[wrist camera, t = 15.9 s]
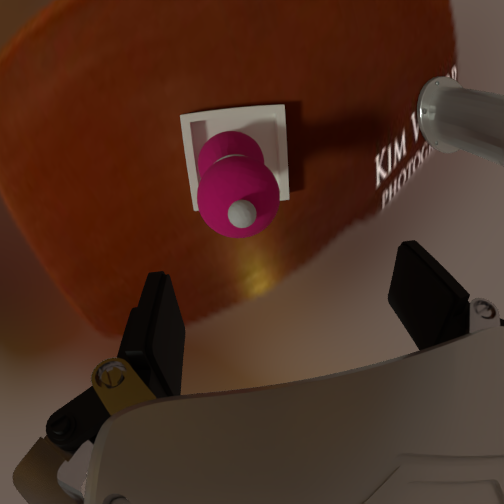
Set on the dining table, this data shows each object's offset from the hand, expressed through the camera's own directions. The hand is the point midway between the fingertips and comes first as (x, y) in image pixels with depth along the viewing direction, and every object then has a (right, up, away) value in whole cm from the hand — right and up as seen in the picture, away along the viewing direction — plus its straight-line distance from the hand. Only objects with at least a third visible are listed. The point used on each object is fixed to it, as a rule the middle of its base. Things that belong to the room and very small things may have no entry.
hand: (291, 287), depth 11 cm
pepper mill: (-4, +13, +24) cm, 27 cm away
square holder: (-4, +14, +24) cm, 28 cm away
